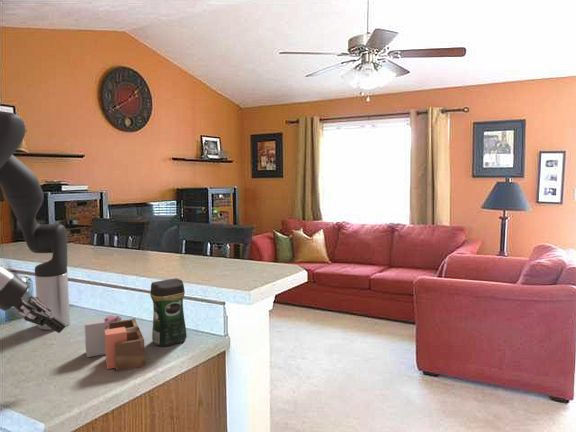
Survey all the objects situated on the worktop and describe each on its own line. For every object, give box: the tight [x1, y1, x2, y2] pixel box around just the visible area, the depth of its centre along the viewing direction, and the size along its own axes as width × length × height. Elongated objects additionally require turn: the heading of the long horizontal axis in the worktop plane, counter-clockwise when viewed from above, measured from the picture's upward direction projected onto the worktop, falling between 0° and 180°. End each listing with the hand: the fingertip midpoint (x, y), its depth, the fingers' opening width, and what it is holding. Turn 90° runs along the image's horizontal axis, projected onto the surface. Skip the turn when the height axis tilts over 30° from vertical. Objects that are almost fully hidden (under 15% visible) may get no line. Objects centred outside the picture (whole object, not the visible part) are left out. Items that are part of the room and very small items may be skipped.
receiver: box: [109, 318, 146, 372], centre depth 120 cm, size 18×7×7 cm, turn 26°
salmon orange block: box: [105, 327, 127, 370], centre depth 114 cm, size 4×5×9 cm
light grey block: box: [83, 317, 106, 358], centre depth 121 cm, size 4×5×9 cm
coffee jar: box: [149, 277, 188, 347], centre depth 129 cm, size 10×8×19 cm
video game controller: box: [104, 314, 122, 330], centre depth 135 cm, size 10×5×7 cm, turn 169°
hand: (62, 328), depth 108 cm, fingers closed
